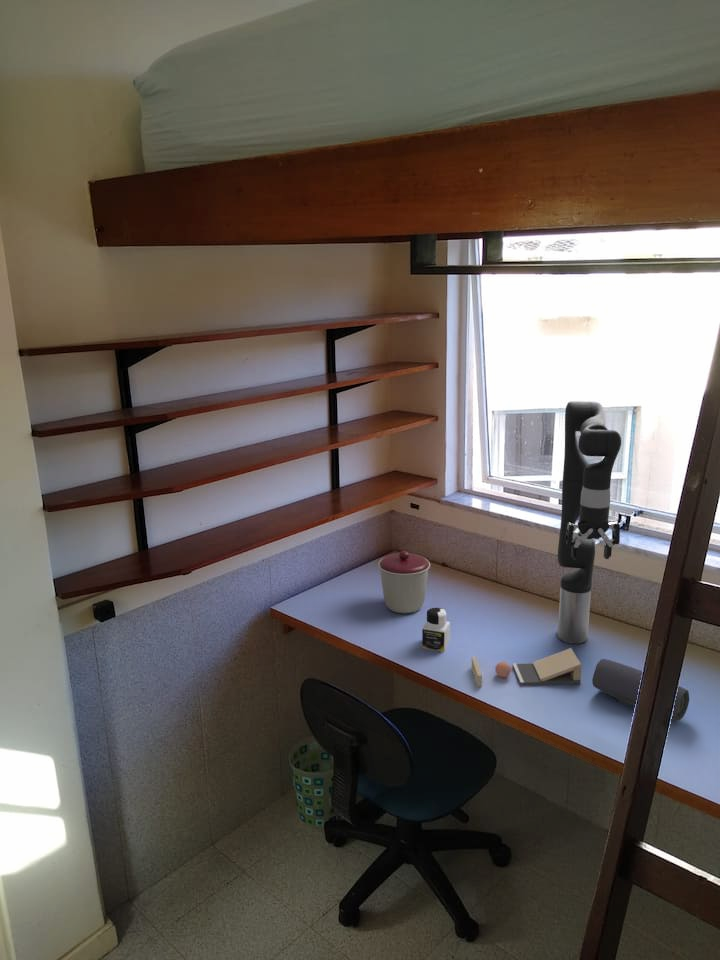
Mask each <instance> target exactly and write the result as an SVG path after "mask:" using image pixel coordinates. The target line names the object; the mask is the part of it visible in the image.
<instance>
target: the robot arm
mask: <svg viewBox="0 0 720 960" xmlns="http://www.w3.org/2000/svg"><path fill="white" fill-rule="evenodd" d="M607 427H608V426H606V416H605V410H604V407H603V405H602V404H601V403H600V402H598V401H584V400H583V401H581V400H572V401H568V402H567V404H566V406H565V411H564V462H563V472H562V487H561V518H560V528H559V536H558V537H559V538H558V545H557V562H558V565H559V567H562V568H569V569H577V570H576V571H573V572H570V573H567V574H564V575H563V576H562V577H561V578H560V592H559V605H558V606H559V607H558V620H557V622H558V623H557V638H558V639H560V640H561V641H563V642H566V643H569V644H582V643H585V642H586V641H587V640H588V636H589V635H588V633H589V623H590V622H589V621H590V608H591V597H592V596H591V595H592V584H593V581H592V580H593V571H594V564H595V558H596V544H595V541H594V540H593V539H595V540H600V538H601V539H602V540H603V541H604V545H603V546H604V548H603V558H604V559H605V560H609V559H610V558H611V557H612V551H613V546H614V545H619V544H620V541H621V538H620V537H621V525H620V524H619V522H618V521H616V520H614V521H612V522H609V519H610V518H609V517H610V506H611V505H610V504H611V480H612V472H613V467H614V465H615V461H616V459H617V457H618V454H619V452H620V450H621V446H622V438H621V435H620V433H619V432H618V431H616V430H613V429H608V428H607ZM577 432H579V433H580V436H579V437H578V439H577V434H576V433H577ZM585 456H587V457H603V459H602V460H600V461H598V462H594V463H589V462H588V461H587V459H586V458H585ZM578 519H579V520H578ZM577 520H578V523H577ZM577 529H578V532H576V534H575V537H574V532H575V531H576V530H577ZM609 529H610V530H611V538H609V537H608V535H607V534H606V533H607V531H608V530H609Z"/></svg>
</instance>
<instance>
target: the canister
mask: <svg viewBox="0 0 720 960" xmlns="http://www.w3.org/2000/svg"><path fill="white" fill-rule="evenodd" d="M377 566H378V569H379V570H380V578H381V587H382V594H383V600H384V604H385V606H386V608H388V610H390V611H392V612H394V613H397V614H411V613H416V612H417V611H419V610H420V609H421V608H422V607H423V605H424V602H425V597H426V591H427V590H426V589H427V581H428V575H429V569H430V568H431V563H430V561H429V560H428V559H427V558H425V557H423V556H422V555H419V554H416V553H411V552H409V551H407V550H401V551H400V552H397V553H396V552H395V553H392V554H388V555H386V556H384V557H383V558H381V559H380V560H379V561H378V563H377Z"/></svg>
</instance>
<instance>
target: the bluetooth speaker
mask: <svg viewBox="0 0 720 960" xmlns="http://www.w3.org/2000/svg"><path fill="white" fill-rule="evenodd" d="M642 671H643V670H640V669H637V668H635V667H632V666H629V665H627V664H626V665H625V664H622V663H620V662H618V661H614V660H610V659H606V658H601V659H600V660H599V661H598V662H597V664H596V665H595V668H594V673H593V676H592V681H591V682H592V686H593V687H594V688H595V689H596V690H599V691H600V692H603V693H606V694H607V695H610V696H612V697H613V698H616V699H617V700H618V702H620V703H621V704H624V705H626V706H628V707H631V708H632V707H633V709H635V708H634V707H635V704H636V700H637V695H638V689H639V685H640V680H641V675H642ZM678 686H679V687H678V692H677V696H676V700H675V705H674V711H673V716H672V719H671V720H673V721H676V722H680V721H681V720H682V719H683V718H684V716H685V714H686V712H687V710H688V707H689V704H690V692H689V690H688V689H686V688H684V687H682V686H680V685H678Z"/></svg>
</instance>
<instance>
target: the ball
mask: <svg viewBox="0 0 720 960" xmlns="http://www.w3.org/2000/svg"><path fill="white" fill-rule="evenodd" d="M511 673H512V668H511V665H510V664H509V663H508V662H505V661H499V662H498V663H496V665H495V674H496V675H497V676H498V677H500V678H507V677H509V676H510V674H511Z"/></svg>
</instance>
